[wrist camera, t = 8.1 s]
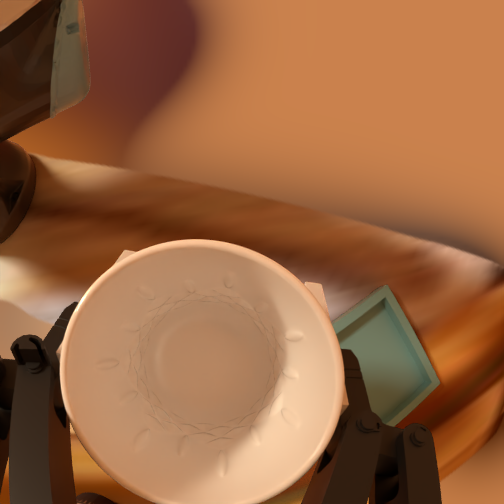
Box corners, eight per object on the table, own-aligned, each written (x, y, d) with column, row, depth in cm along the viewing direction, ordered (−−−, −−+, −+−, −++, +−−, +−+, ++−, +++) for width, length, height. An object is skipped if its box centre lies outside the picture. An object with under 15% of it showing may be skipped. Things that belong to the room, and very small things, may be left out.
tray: (276, 358, 31) (280, 359, 29) (378, 287, 34) (387, 284, 32) (340, 457, 28) (347, 462, 26) (430, 382, 31) (440, 383, 29)
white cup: (292, 312, 18) (371, 283, 9) (257, 439, 16) (298, 530, 6) (162, 275, 18) (107, 207, 8) (126, 401, 16) (41, 454, 6)
